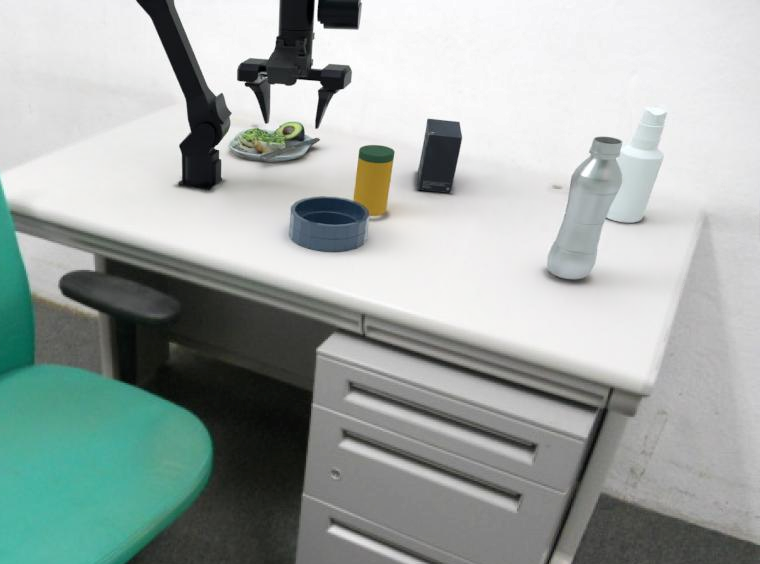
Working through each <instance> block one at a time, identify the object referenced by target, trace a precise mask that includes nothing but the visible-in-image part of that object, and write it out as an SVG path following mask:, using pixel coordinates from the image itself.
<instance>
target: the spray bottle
mask: <svg viewBox="0 0 760 564" xmlns="http://www.w3.org/2000/svg"><path fill="white" fill-rule="evenodd" d="M668 113H669V111H668V109H665V108H662V107H657V106H646V107H644V110H643V112H642V115H641V118H640V120H638V122H637V126H636V129H635V133H634V134H633V137H632V140H631V143H629V144H627V145H624V146H623V147H621V150H620V152H621V153H620V156H619V157H617V158H616V161H617V163H618V165H619V167H620V170H621V173H622V184H621V186H620V189H619V190H618V193H617V195H616V197H615V199H614V201H613V203H612V205H611V207H610V209H609V211H608V214H607V217H606V218H605V219H609V220H611V221H614V222H619V223H638V222H640V221H641V220H642V219H643V217H644V215H645V212H646V209H647V206H648V204H649V201H650V197H651V194H652V192H653V189H654V186H655V183H656V181H657V177H658V174H659V172H660V169H661V166H662V163H663V161H664V156H665V155H664V153H663V152H662V151H661V150H660V148H658V147H659V144H660V141H661V137H662V135H663V131H664V128H665V120H666V119H667V115H668Z"/></svg>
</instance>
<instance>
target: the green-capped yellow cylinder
mask: <svg viewBox="0 0 760 564" xmlns="http://www.w3.org/2000/svg"><path fill="white" fill-rule="evenodd" d="M358 149H359V150H358V156H357V165H356V175H355V181H354V190H353V199H352V201H356V202H358V203H360V204H362V205H364V206H365V207H366V208H367V209H368V210H369V214H370V217H377V216H382V215H385V213H386V212H387V206H388V199H389V193H390V185H391V179H392V172H393V167H394V166H393V165H394V159H395V154H396V153H395V150H394V149H393V148H391V147H389V146H386V145H379V144H367V145H363V146H361V147H359V148H358Z"/></svg>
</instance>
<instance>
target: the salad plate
mask: <svg viewBox="0 0 760 564" xmlns="http://www.w3.org/2000/svg"><path fill="white" fill-rule="evenodd" d="M305 133H306V132H305V127H304V124H303V123H301V122H299V121H288V122H285V123H282V124H281V125H279V127H278V128H277V129H275V130H270V129H265V128H259V127H254V128H249V129H243V130H242V131H239V132H237V134H236V135H235V136H234V138H232V140H230V141H229V143H228V145H227V147H228V148H229V150H230V151H231V152H232V153H234V154H235V155H236V156H238V157H240V158H241V159H244V160H248V161H252V162H255V161H256V162H263V163H277V162H287V161H291V160H296V159H300V157H303V156H304V155H305V154H306V153H307V152H308V150H309V149H310V148H311V147H312V146H314V145H315V144H317V143H318V142H320V141H321V138H320V137H314V138H312V137H311V136H309V135H308V134H305Z"/></svg>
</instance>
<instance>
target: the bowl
mask: <svg viewBox="0 0 760 564" xmlns="http://www.w3.org/2000/svg"><path fill="white" fill-rule="evenodd" d="M289 215H290V216H289V228H288V229H289V230H288V237H289V238H290V240H291V241H292V242H294V243H295V244H297V245H299V246H300V247H303V248H305V249H309V250H312V251H318V252H330V253H335V252H337V253H338V252H347V251H351V250H355V249H358V248H360V247H362V246H363V245H364V244H365V243H366V241H367V240H368V239H367V238H368V231H369V224H370V217H371V216H370V214H369V210H368V209H367V208H366V207H365V206H364V205H362V204H360V203H358V202H356V201H353V199H349V198H344V197H339V196H327V195H326V196H321V195H319V196H311V197H305V198H301V199H299V200H298V201H295V202H294V203H293V204H292V205H291V206H290V214H289Z"/></svg>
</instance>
